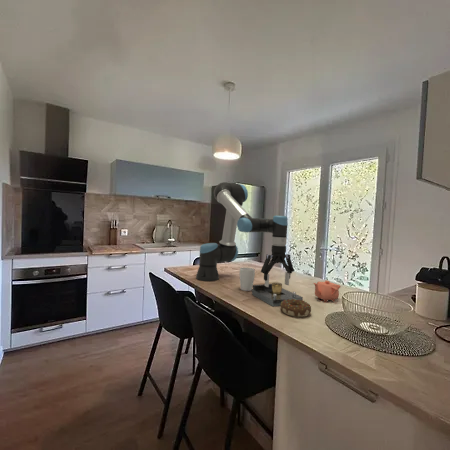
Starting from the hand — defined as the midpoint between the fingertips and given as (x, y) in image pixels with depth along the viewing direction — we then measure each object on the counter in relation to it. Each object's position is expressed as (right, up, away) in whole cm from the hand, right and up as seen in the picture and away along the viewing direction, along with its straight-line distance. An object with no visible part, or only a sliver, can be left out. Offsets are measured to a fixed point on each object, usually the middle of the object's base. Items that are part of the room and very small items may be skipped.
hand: (276, 285), depth 141 cm
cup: (-15, -6, +16) cm, 22 cm away
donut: (+4, -8, -19) cm, 21 cm away
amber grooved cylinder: (0, -7, 0) cm, 7 cm away
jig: (0, -7, 0) cm, 7 cm away
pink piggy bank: (+27, -8, +3) cm, 28 cm away
